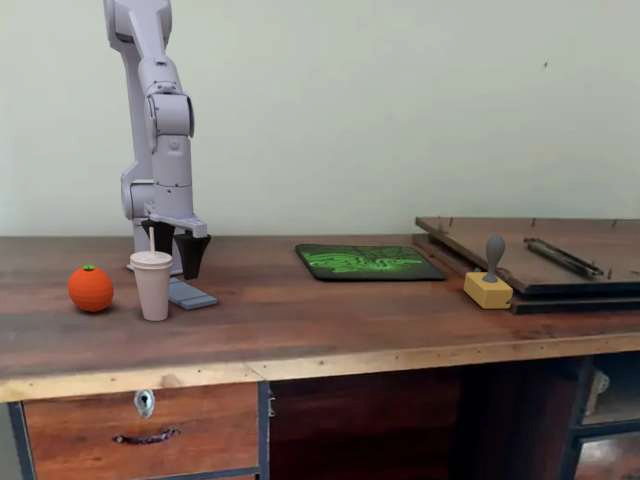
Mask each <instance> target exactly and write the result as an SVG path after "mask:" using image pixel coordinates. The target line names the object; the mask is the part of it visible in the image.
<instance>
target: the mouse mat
mask: <svg viewBox="0 0 640 480" xmlns="http://www.w3.org/2000/svg"><path fill="white" fill-rule="evenodd" d="M294 249H295V251H296V253H297V254H298V255H299V256H300V258H301V259H302V260H303V262H304V263H305V264H306V266H307V267H308V269H309V270H310V272H311V273H312V275H314V277H316V278H318V279H325V280H326V279H327V280H359V281H360V280H378V281H379V280H381V281H382V280H385V281H387V280H388V281H390V280H392V281H393V280H395V281H396V280H399V281H401V280H403V281H405V280H407V281H413V280H414V281H415V280H425V279H427V280H428V279H429V280H446V278H447V277H446V275H445V274H444V273H443V272H442V271H441V270H439V269H438V268H437V267H436V266H435V265H434V264H433V263H432V262H430V261H429V260H428V258H426V257H425V256H424V255H423V254H421V253H420V252H419V250H417V249H416V248H414V247H410V246H400V245H385V246H384V245H383V246H382V245H381V246H377V245H375V246H374V245H345V244H336V245H335V244H320V243H299V244H297V245H295V246H294Z"/></svg>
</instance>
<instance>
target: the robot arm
mask: <svg viewBox="0 0 640 480" xmlns="http://www.w3.org/2000/svg"><path fill="white" fill-rule="evenodd" d="M102 2H103V4H102V5H103V13H104V20H105V21H104V22H105V29H106V38H107V41H108V43H109V48H111V49H112V50H115V51H116V52H118V53H120V57H121V59H122V62H123V66H124V70H125V71H124V72H125V80H126V88H127V89H126V90H127V98H128V107H129V117H130V126H131V136H132V145H133V155H134V162H133V163H131V164H130V165H129V166H128V167H127V168H126V169H124V170H123V171H122V172H121V176H120V199H121V205H122V212H123V215H124V217H125V218H126V219H127V220H128V221H131V222H132V234H133V247H134V253H137V252H143V251H151V243H150V229H149V227H153V232H154V247H155V251H157V252H163V253H166V254H169V255H170V256H171V257H172V262H173V264H172V266H171V267H170V276H174V275H180V274H182V275H183V278H184V280H185V281H191V280H197V279H198V278H199V275H200V274H199V273H200V269H201V265H202V261H203V257H204V254H205V252H206V250H207V247H209V246H208V245H210V242H211V240H212V235H211V234H209V233H208V223H206V222H205V221H203V220H202V219H201V218H200V217H199V216H198V215H197V214H196V213H195V212H194V194H193V193H194V192H193V169H192V167H193V166H192V165H193V164H192V144H191V139H193V138H194V136H195V127H196V118H195V109H194V104H193V100H192V96H191V95H190V93H188V92H187V90H183V87H182V83H181V79H180V76H179V72H178V69H177V65H176V63H175V61H173V60H172V58H170V57H169V56H168V55H166V50H167V46H168V45H169V41H170V37H171V33H172V30H173V9H172V3H171V0H102ZM136 180H137V181H138V180H152V182H134V181H136ZM126 268H127V269H129V270H131V271H133V272H134V268H133V266H132V265H131V263H129V264H126Z"/></svg>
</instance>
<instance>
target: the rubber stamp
mask: <svg viewBox="0 0 640 480" xmlns="http://www.w3.org/2000/svg"><path fill="white" fill-rule="evenodd" d="M505 251H506V242H505V238H503V237H502V235H501V236H500V235H499V234H494V235H492V236H490V237H489V238H488V240H487V241H486V245H485V254H486V259H487V266H488V267H487V268H488V269H487V271H486V272H480V271H479V272H477V271H476V272H475V271H474V272H471V271H470V272H466V273H465V277H464V282H463V283H464V284H463V285H464V286H463V292H465V293H466V294H467V295H468V296H469V297H470V298H471V299H472V300H473V301H474V302H476V303H477V304H478V305H479V306H480V307H481V308H482V309H510V308H511V305H512V302H511V303H510V304H506V302H507V301H508V300H509V299H511V298H512V299H513V295H514V290H513V288H512V287H511V286H510V285H509V284H508V283H506V282H505V281H504V280H502V278H500V277H499V276H497V275H496V268H497V266H498V264H499V262H500V261H501V259H502V257H503V255H504V253H505Z"/></svg>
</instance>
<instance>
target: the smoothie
mask: <svg viewBox="0 0 640 480" xmlns="http://www.w3.org/2000/svg"><path fill="white" fill-rule="evenodd" d="M149 229H150V243H151V251H143V252H137V253H135V252H134V253H132V254H131V255H130V256H129V257H130V258H129V259H130V263H129V264H131V265H132V266H133V268H134V271H133V272H134V278H135V282H136V286H137V293H138V296H139V301H140V305H141V306H140V307H141V310H142V315H143V319H145V320H147V321H151V322H161V321H164V320H166V319H167V318H168V314H169V313H168V312H169V300H168V298H169V283H170V278H171V275H170V267H171V266H172V264H173V262H172V257H171V256H170V255H169V254H166V253H163V252H157V251H155V247H154V232H153V227H149Z"/></svg>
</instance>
